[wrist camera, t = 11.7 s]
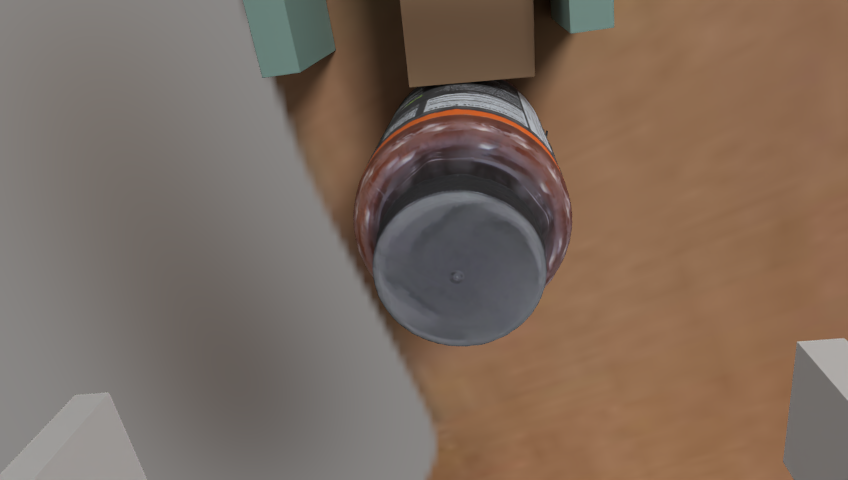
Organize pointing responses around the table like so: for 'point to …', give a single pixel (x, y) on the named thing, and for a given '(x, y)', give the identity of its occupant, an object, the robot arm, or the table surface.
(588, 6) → the channel
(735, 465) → the table surface
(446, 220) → the supplement bottle
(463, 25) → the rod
